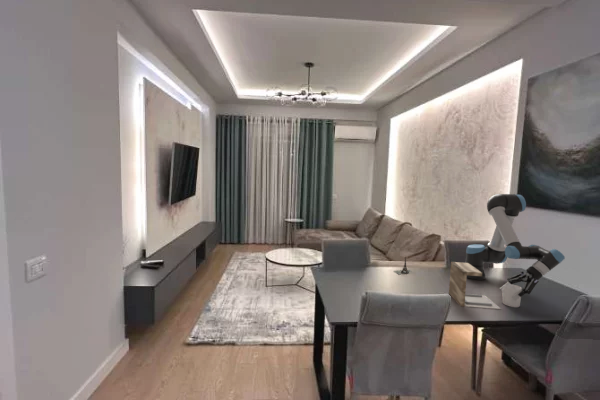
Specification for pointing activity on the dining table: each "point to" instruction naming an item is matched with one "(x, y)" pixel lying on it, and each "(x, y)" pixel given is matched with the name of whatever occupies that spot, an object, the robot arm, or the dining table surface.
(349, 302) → the dining table surface
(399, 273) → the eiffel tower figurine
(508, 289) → the mug
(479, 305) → the seat plate
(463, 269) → the overhang shelf
